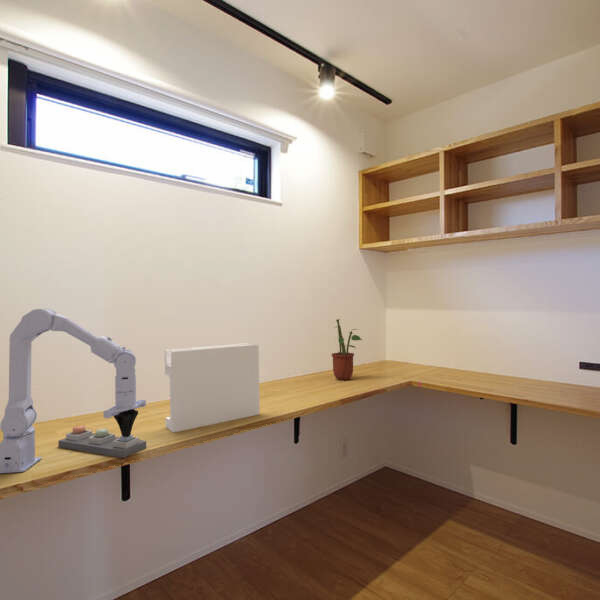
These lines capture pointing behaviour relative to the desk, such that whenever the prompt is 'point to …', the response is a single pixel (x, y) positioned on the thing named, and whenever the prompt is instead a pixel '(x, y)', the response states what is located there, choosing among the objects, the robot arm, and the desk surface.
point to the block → (212, 385)
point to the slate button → (126, 438)
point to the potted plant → (343, 357)
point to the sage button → (101, 432)
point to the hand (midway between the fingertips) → (126, 435)
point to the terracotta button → (78, 429)
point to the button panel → (101, 444)
